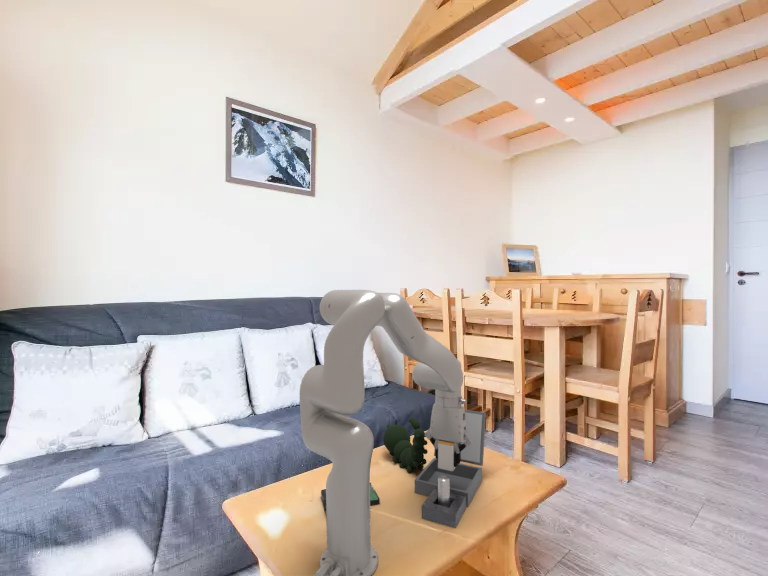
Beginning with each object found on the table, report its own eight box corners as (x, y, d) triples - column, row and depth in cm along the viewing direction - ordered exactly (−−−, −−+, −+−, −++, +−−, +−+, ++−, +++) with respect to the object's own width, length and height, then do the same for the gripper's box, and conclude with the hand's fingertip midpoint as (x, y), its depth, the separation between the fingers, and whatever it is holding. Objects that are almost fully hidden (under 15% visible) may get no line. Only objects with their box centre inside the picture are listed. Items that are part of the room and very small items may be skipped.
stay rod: (447, 521, 99) (447, 482, 99) (436, 518, 101) (436, 479, 101) (451, 514, 102) (451, 477, 102) (440, 511, 103) (440, 474, 103)
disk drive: (326, 520, 102) (380, 508, 106) (326, 509, 101) (380, 498, 106) (320, 499, 111) (370, 489, 116) (320, 489, 111) (370, 480, 116)
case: (468, 509, 104) (468, 493, 104) (414, 495, 111) (414, 480, 111) (482, 482, 118) (482, 468, 118) (433, 471, 125) (433, 457, 125)
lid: (484, 412, 121) (485, 412, 122) (437, 405, 129) (438, 405, 130) (481, 466, 118) (483, 465, 119) (433, 456, 125) (434, 455, 126)
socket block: (455, 531, 95) (455, 515, 95) (421, 521, 99) (421, 505, 99) (465, 511, 103) (465, 496, 103) (433, 503, 107) (433, 488, 107)
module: (452, 471, 111) (453, 443, 111) (437, 468, 113) (438, 440, 113) (457, 465, 115) (457, 438, 115) (443, 462, 117) (443, 435, 117)
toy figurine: (433, 480, 123) (398, 443, 146) (435, 423, 121) (399, 395, 144) (407, 487, 119) (375, 448, 142) (409, 428, 117) (376, 398, 140)
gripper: (479, 401, 114) (479, 464, 113) (426, 394, 121) (425, 452, 121) (473, 408, 107) (472, 475, 107) (416, 400, 115) (416, 462, 115)
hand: (447, 462), depth 114 cm, fingers closed on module, 4 cm apart
